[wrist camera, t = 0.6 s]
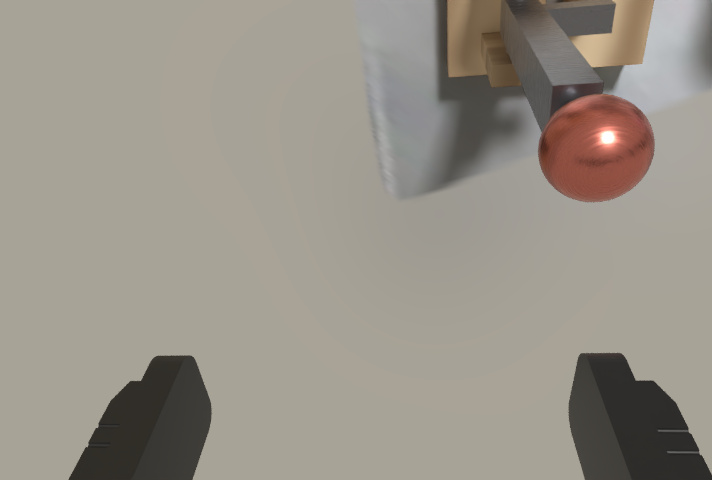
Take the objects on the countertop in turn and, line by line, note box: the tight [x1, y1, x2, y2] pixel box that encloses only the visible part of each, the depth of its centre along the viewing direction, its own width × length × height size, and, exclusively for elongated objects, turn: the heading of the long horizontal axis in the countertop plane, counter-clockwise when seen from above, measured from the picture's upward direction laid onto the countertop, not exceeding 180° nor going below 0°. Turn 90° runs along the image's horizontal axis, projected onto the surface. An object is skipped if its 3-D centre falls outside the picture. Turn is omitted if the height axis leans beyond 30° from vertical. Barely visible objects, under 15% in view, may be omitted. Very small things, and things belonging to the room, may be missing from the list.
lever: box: [500, 0, 655, 202], centre depth 25 cm, size 7×4×21 cm, turn 96°
